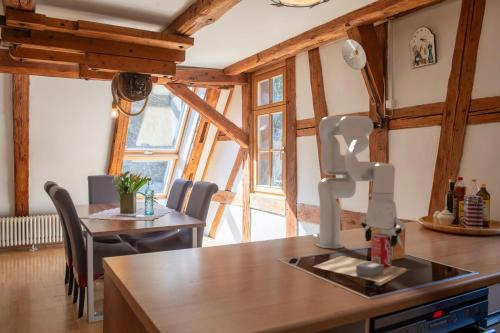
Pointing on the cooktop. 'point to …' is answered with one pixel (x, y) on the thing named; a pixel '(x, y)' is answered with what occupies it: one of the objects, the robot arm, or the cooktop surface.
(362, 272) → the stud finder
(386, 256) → the soda can
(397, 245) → the small box
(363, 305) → the cooktop surface
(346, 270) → the plywood panel
